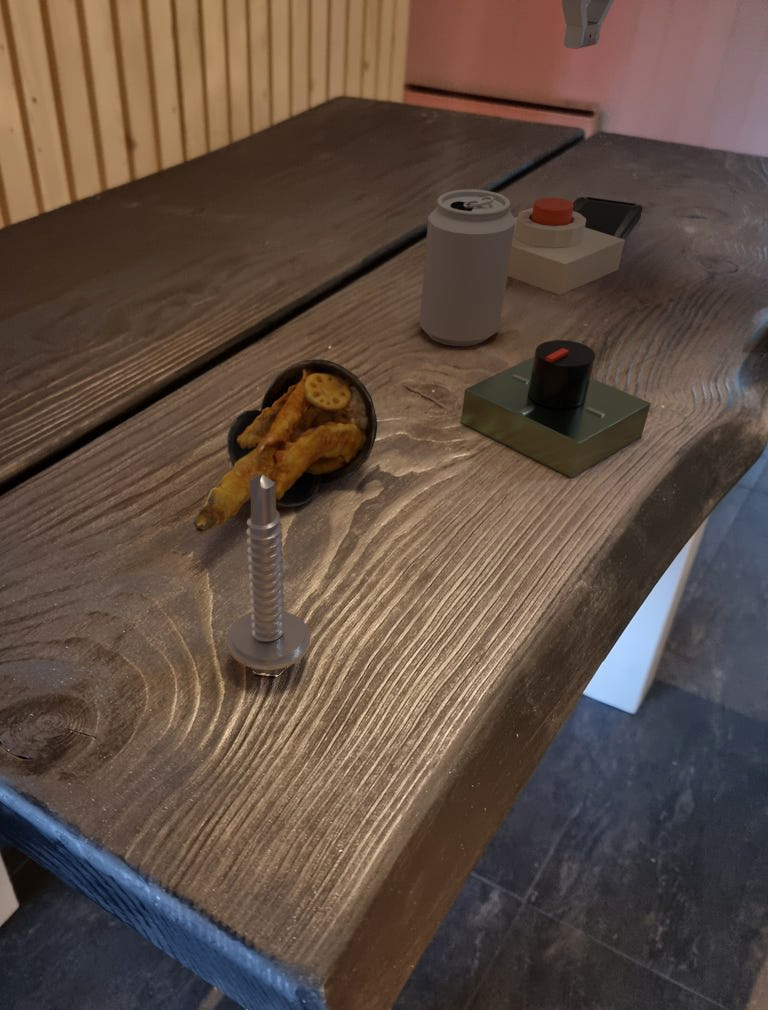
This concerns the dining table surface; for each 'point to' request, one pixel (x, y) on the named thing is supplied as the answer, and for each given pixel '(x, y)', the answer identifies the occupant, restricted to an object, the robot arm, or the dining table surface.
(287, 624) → the screw
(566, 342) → the timer knob
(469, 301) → the can
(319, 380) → the fried shrimp in bowl
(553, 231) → the beige button box
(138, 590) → the dining table surface
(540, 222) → the button
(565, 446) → the timer panel
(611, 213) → the phone
